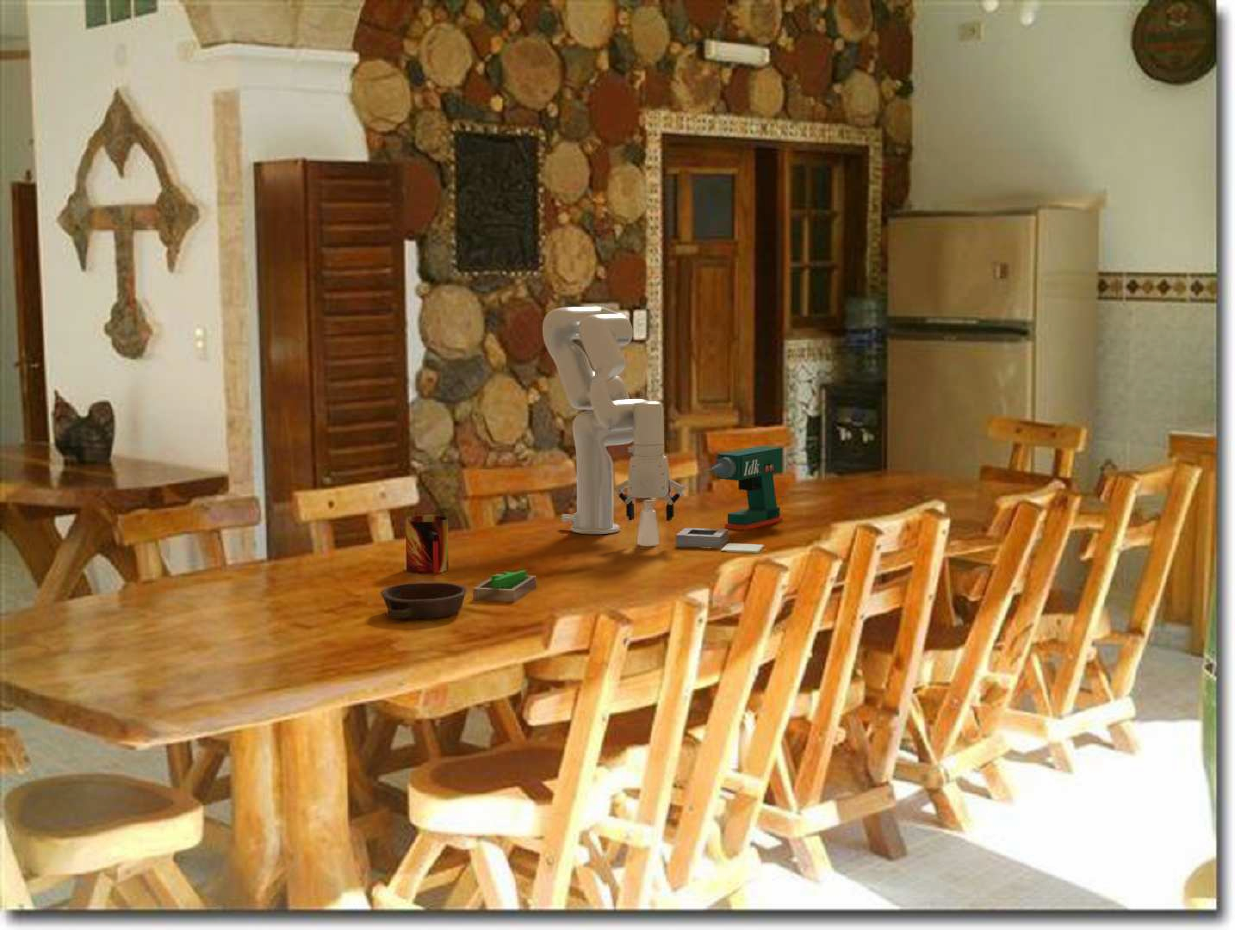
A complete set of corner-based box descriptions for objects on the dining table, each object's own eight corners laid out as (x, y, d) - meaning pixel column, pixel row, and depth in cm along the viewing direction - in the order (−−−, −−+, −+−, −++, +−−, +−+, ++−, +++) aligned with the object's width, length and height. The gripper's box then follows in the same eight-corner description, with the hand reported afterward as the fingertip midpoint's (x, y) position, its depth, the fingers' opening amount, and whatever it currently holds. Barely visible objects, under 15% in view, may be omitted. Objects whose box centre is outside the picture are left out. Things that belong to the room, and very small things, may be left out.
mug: (435, 578, 376) (434, 525, 374) (397, 570, 386) (396, 518, 384) (468, 572, 383) (468, 520, 381) (430, 564, 392) (430, 513, 391)
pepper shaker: (633, 544, 417) (632, 501, 416) (646, 541, 422) (646, 498, 420) (650, 547, 414) (650, 503, 413) (663, 544, 418) (663, 500, 417)
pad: (721, 551, 408) (721, 549, 408) (727, 545, 416) (727, 543, 416) (757, 553, 405) (757, 551, 405) (763, 546, 414) (763, 544, 414)
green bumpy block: (512, 589, 364) (512, 569, 364) (527, 591, 363) (527, 570, 362) (483, 598, 355) (483, 577, 354) (498, 600, 353) (498, 579, 352)
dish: (356, 619, 336) (355, 595, 335) (422, 599, 354) (422, 576, 354) (426, 629, 327) (426, 604, 326) (490, 608, 346) (490, 584, 345)
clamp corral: (473, 600, 353) (472, 588, 352) (497, 585, 368) (497, 573, 368) (513, 602, 350) (513, 590, 350) (536, 587, 366) (536, 575, 366)
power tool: (718, 537, 427) (718, 459, 425) (695, 534, 432) (695, 457, 429) (784, 521, 453) (785, 447, 450) (762, 518, 457) (762, 445, 454)
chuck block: (675, 547, 414) (675, 535, 414) (685, 539, 425) (685, 527, 424) (719, 548, 411) (719, 536, 411) (728, 541, 422) (728, 529, 421)
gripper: (611, 452, 413) (612, 521, 415) (679, 452, 409) (681, 522, 410) (618, 449, 420) (620, 517, 422) (686, 450, 416) (687, 518, 418)
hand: (650, 520), depth 416 cm, fingers open, 9 cm apart
